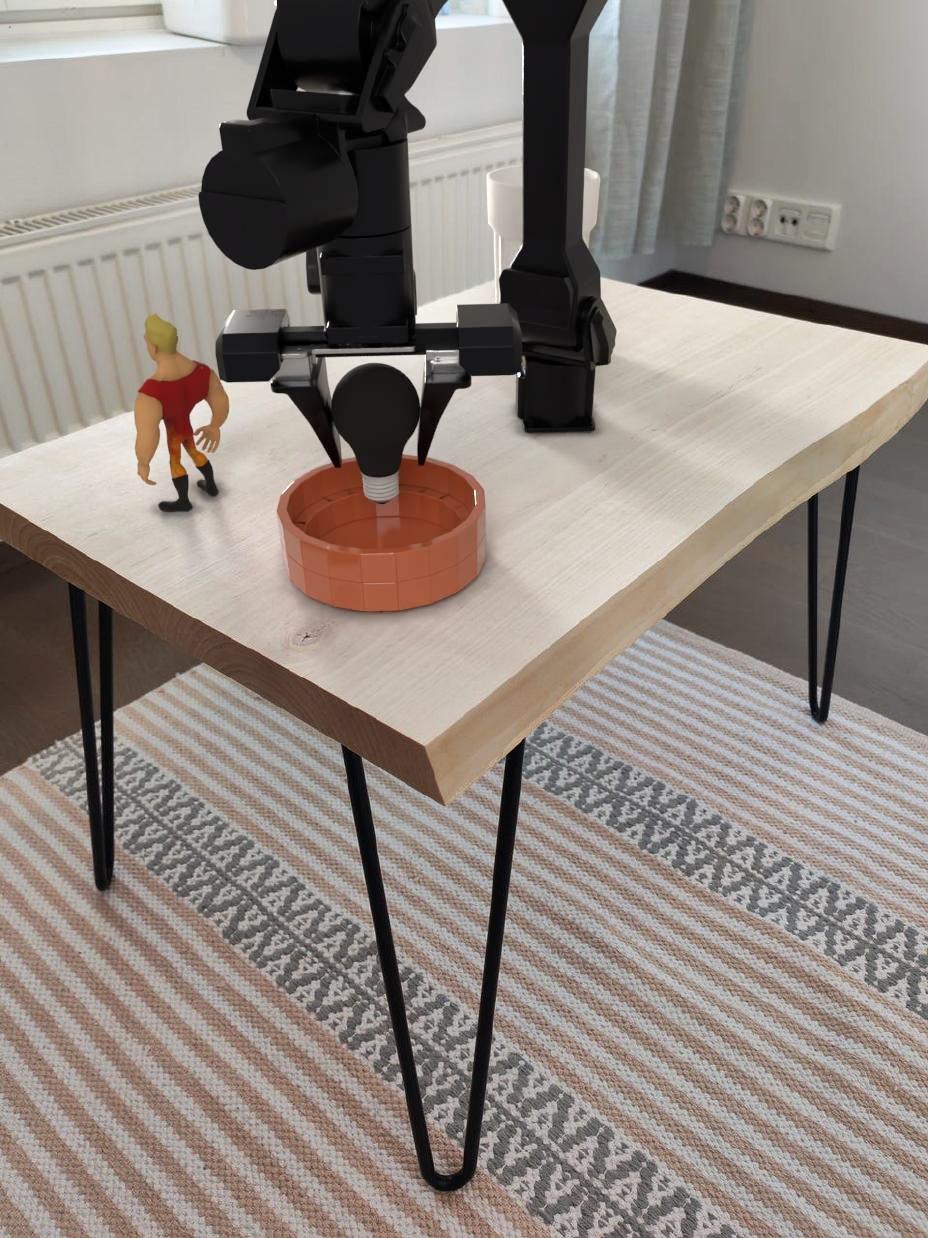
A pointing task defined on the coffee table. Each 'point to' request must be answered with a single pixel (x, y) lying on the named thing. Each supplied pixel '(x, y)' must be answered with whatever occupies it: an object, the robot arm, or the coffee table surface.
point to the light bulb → (376, 423)
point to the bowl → (383, 535)
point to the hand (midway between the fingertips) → (380, 464)
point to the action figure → (177, 412)
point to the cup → (509, 213)
